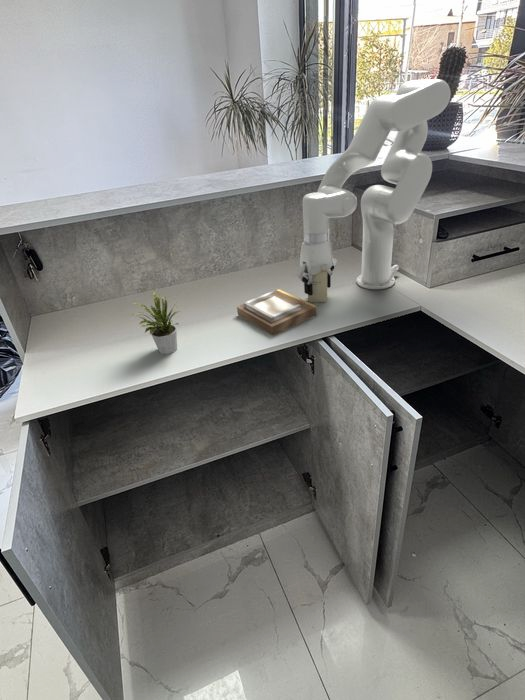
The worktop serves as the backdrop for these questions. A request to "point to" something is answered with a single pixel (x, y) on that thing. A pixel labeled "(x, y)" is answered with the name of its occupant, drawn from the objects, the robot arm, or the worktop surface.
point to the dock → (276, 311)
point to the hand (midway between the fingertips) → (317, 289)
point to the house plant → (161, 326)
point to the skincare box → (319, 286)
